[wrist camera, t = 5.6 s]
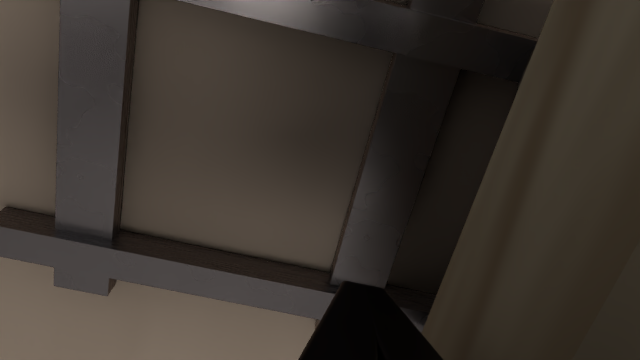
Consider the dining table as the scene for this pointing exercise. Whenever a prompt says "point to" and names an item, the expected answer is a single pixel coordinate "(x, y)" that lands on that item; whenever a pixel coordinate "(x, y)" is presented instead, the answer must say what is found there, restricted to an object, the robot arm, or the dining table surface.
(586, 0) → the cart
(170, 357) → the dining table surface
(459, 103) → the dining table surface
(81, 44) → the rail
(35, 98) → the dining table surface
